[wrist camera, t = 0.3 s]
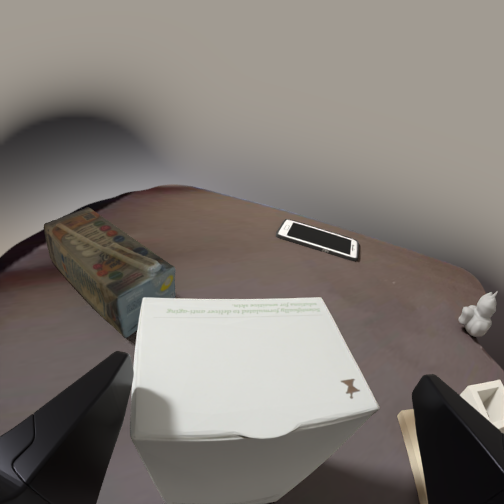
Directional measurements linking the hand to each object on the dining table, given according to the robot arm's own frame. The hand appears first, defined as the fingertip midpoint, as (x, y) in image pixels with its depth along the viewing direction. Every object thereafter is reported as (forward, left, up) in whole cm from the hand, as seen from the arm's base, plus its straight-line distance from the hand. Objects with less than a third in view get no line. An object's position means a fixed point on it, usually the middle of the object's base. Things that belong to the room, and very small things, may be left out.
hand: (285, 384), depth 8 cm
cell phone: (+43, -14, -17) cm, 48 cm away
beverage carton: (+23, +17, -17) cm, 33 cm away
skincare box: (+2, +1, -17) cm, 17 cm away
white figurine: (+21, -35, -17) cm, 44 cm away
